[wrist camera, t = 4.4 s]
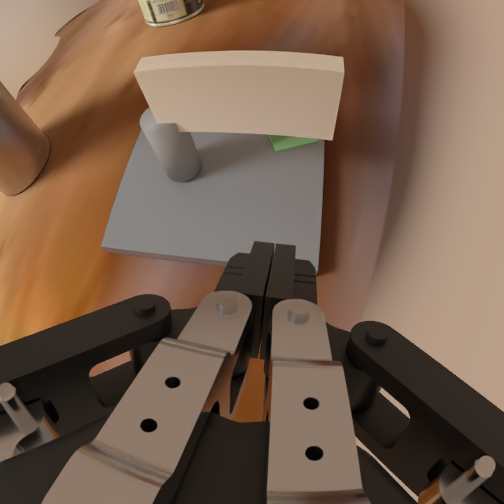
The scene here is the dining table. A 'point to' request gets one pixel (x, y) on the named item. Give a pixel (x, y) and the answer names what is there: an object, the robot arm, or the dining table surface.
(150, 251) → the board
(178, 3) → the coffee can
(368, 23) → the dining table surface
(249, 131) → the lever handle
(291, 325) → the robot arm
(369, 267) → the dining table surface
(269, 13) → the dining table surface
